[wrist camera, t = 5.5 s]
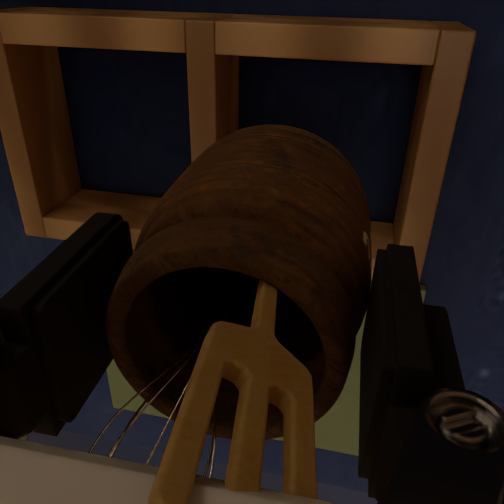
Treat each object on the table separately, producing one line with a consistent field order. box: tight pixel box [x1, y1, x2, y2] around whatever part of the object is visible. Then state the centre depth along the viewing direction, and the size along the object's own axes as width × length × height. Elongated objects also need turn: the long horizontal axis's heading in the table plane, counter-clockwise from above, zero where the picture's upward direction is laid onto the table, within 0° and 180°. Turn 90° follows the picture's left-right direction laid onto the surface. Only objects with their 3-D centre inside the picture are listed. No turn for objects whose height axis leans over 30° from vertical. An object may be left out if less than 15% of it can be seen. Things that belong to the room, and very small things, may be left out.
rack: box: [0, 7, 477, 283], centre depth 23 cm, size 20×11×4 cm, turn 88°
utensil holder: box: [89, 124, 372, 504], centre depth 10 cm, size 6×6×12 cm
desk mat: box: [107, 249, 426, 456], centre depth 31 cm, size 20×14×1 cm
